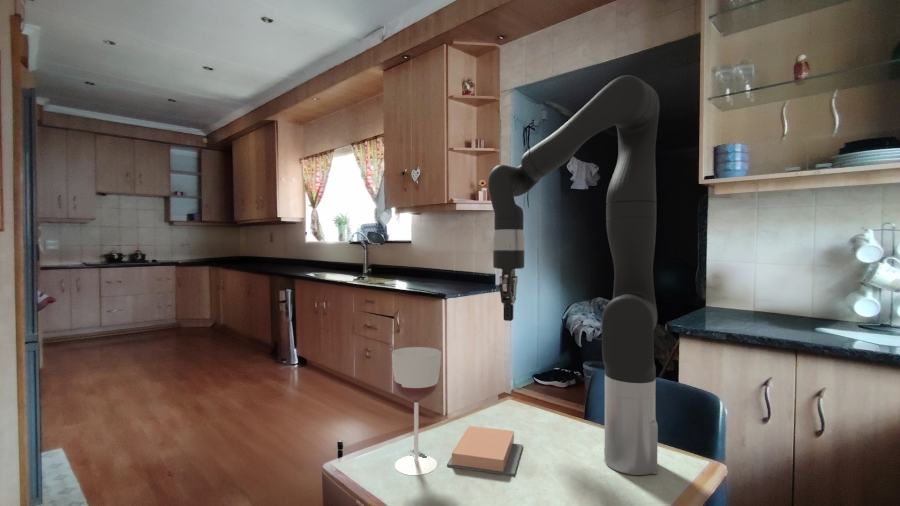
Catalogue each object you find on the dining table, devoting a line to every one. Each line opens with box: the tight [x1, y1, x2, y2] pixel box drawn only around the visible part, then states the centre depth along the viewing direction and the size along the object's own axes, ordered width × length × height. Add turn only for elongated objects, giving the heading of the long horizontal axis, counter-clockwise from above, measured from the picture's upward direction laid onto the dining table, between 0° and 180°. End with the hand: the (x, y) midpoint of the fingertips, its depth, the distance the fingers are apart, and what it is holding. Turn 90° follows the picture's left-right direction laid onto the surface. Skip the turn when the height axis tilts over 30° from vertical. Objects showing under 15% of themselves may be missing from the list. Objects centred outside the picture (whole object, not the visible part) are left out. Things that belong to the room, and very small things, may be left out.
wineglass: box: [391, 346, 442, 476], centre depth 86 cm, size 9×10×22 cm
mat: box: [446, 443, 524, 477], centre depth 90 cm, size 13×13×1 cm
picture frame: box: [451, 425, 515, 472], centre depth 91 cm, size 10×2×14 cm
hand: (508, 320), depth 107 cm, fingers closed
